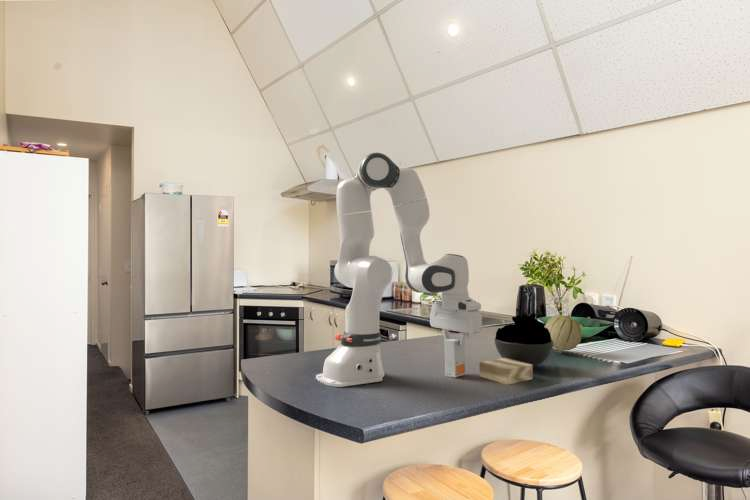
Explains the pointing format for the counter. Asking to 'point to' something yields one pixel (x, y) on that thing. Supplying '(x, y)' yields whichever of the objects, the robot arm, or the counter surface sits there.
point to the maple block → (506, 370)
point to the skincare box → (454, 358)
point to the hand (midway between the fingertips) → (454, 344)
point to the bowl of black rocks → (524, 340)
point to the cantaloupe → (564, 332)
